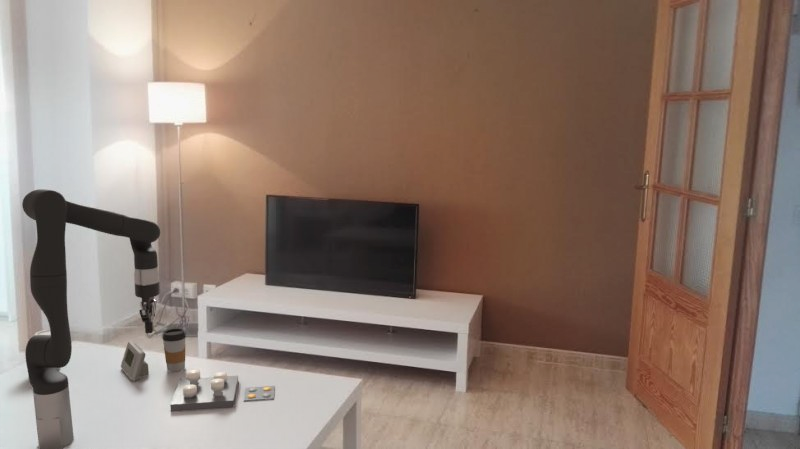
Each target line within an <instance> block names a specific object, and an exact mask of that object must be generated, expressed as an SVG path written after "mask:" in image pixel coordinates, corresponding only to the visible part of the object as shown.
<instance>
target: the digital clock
mask: <svg viewBox="0 0 800 449" xmlns="http://www.w3.org/2000/svg"><path fill="white" fill-rule="evenodd" d="M145 357H146V353H145V351H144V350H143V349H142V348H141V347H140V346H139V345H138V344H137V343H136V342H135V341H134V340H130V341H128V342H127V345H126V347H125V351H124V354H123V357H122V359H121V360H122V361H121V364H120V368H121V370H123V372H124V374H126V375H127V377H128V378H129V379H130V380H131V381H132V382H137V381H138V380H139V379H140V378H143V377H146V376H149V375H150V374H149V372H150V371H149V364H148V363H147V361H146V360H145Z"/></svg>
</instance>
